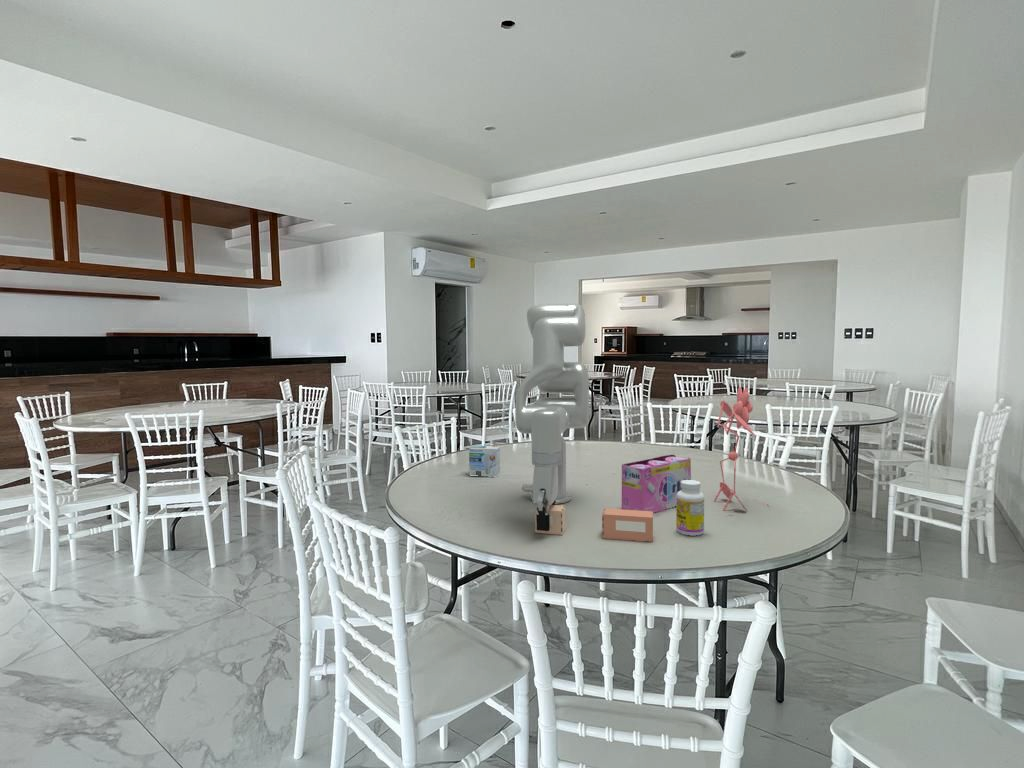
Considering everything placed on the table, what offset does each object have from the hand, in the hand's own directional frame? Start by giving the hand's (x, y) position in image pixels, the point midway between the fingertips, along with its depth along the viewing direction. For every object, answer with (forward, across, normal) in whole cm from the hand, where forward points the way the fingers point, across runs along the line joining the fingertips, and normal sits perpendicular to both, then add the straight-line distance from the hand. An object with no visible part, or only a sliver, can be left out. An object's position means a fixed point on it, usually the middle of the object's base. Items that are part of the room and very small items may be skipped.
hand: (547, 524), depth 138 cm
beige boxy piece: (+2, 0, +1) cm, 2 cm away
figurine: (+2, -34, +51) cm, 62 cm away
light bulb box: (+2, -55, -35) cm, 65 cm away
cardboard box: (+2, 0, +20) cm, 20 cm away
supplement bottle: (+2, -7, +35) cm, 36 cm away
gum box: (+2, -28, +27) cm, 39 cm away
